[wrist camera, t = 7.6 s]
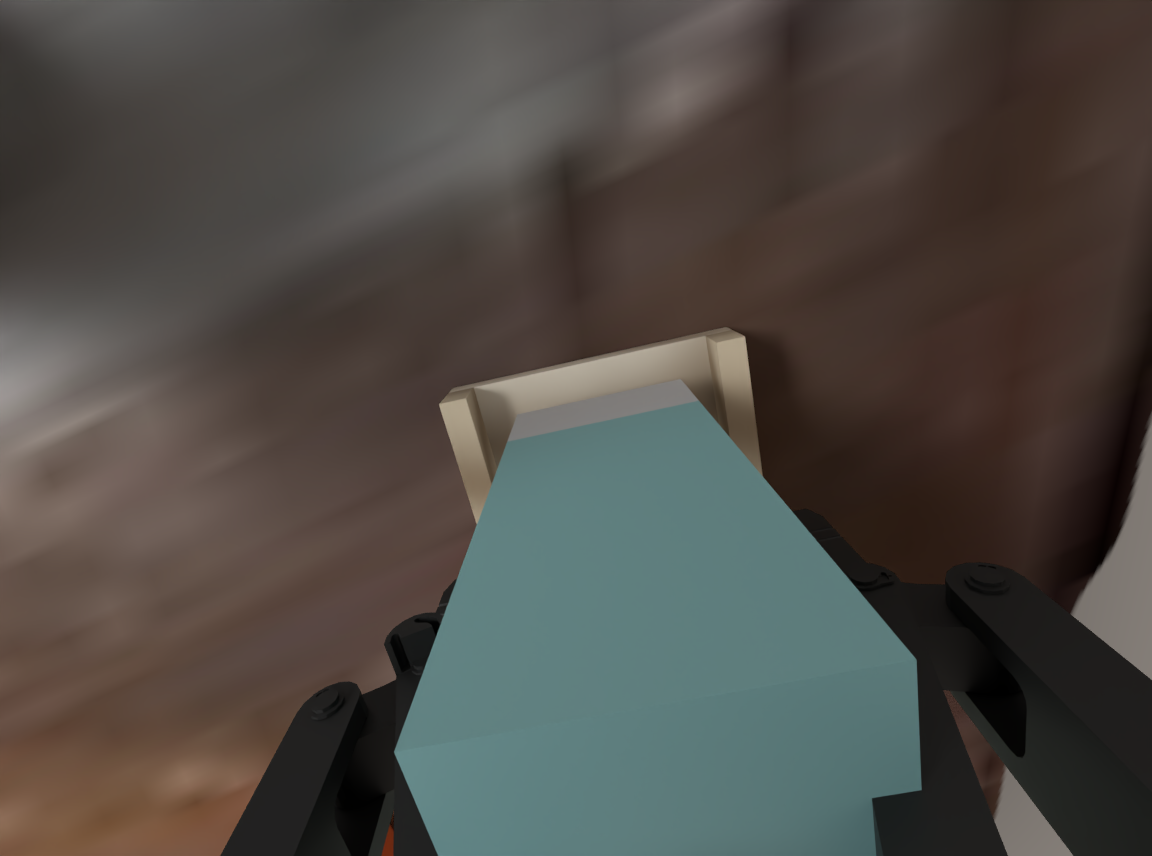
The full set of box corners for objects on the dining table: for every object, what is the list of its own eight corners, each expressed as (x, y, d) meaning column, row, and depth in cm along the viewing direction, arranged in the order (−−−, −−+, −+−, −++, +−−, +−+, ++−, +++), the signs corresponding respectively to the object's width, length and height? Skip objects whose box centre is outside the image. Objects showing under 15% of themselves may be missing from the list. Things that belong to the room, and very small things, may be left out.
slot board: (452, 387, 22) (438, 404, 19) (726, 326, 21) (745, 336, 19) (556, 728, 27) (555, 772, 25) (775, 689, 26) (794, 730, 24)
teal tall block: (517, 414, 20) (393, 751, 6) (680, 378, 19) (916, 658, 6) (558, 566, 22) (529, 1071, 8) (707, 537, 21) (930, 1018, 8)
